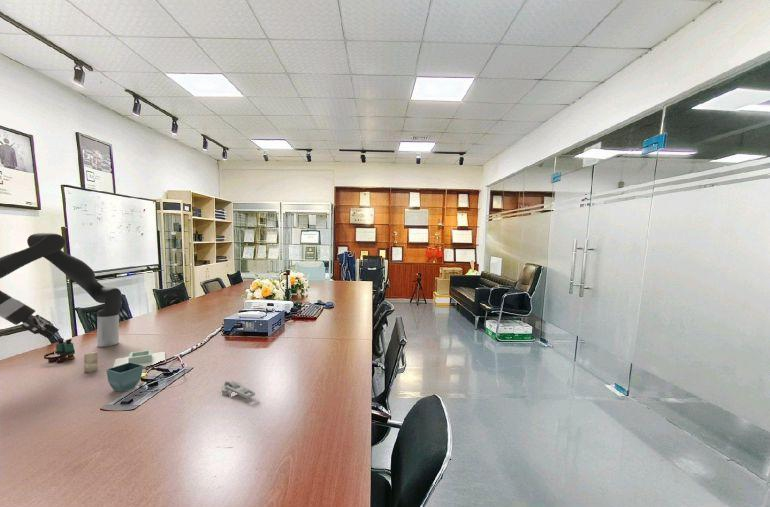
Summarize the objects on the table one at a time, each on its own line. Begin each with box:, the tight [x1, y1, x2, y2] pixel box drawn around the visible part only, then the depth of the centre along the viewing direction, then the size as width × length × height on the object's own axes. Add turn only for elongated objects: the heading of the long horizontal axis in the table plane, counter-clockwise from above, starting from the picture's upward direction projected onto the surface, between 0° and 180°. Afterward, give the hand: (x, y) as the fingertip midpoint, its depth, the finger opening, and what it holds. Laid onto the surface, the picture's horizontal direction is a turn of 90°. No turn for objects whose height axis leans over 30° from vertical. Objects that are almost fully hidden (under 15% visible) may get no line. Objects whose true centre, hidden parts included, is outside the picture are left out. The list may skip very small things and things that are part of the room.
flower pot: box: [106, 362, 144, 393], centre depth 125 cm, size 9×9×9 cm
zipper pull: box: [221, 379, 256, 399], centre depth 122 cm, size 8×18×4 cm, turn 57°
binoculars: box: [43, 337, 76, 364], centre depth 150 cm, size 9×11×10 cm
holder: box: [112, 349, 166, 369], centre depth 151 cm, size 18×20×4 cm
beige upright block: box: [83, 351, 98, 374], centre depth 140 cm, size 4×4×8 cm
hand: (54, 334), depth 132 cm, fingers open, 8 cm apart
